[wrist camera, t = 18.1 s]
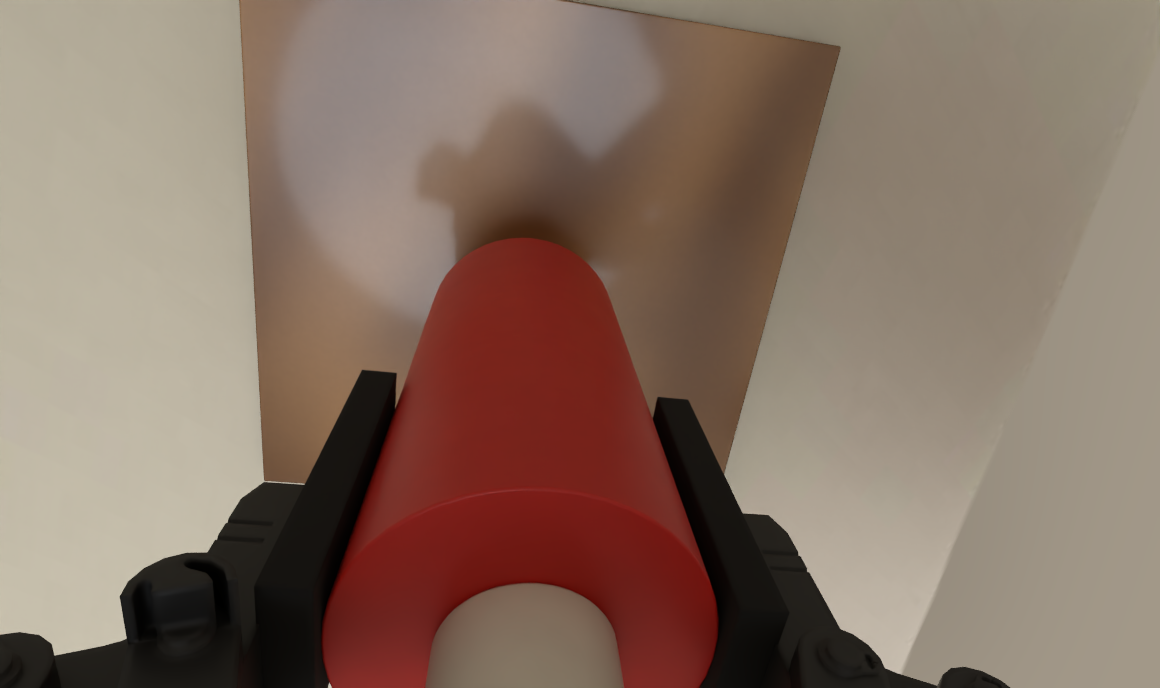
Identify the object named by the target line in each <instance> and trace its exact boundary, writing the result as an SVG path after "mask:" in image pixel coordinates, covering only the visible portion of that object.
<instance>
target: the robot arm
mask: <svg viewBox="0 0 1160 688" xmlns="http://www.w3.org/2000/svg"><path fill="white" fill-rule="evenodd" d="M396 379H397V373H393V372H382V371H371V370H362V371H361V373H360V375H359V377H358V379H357V381H356V383H355V385H354V387H353V389H352V391H351V393H350V395H349V397H348V399H347V401H346V403H345V405H344V407H343V409H342V411H341V413H340V415H339V417H338V419H337V421H336V423H335V425H334V427H333V429H332V431H331V433H330V435H329V437H328V439H327V441H326V443H325V445H324V447H323V449H322V451H321V453H320V455H319V457H318V459H317V461H316V463H315V465H314V467H313V469H312V471H311V473H310V475H309V477H308V479H307V481H306V483H305V485H297V484H282V483H268V482H264V483H262V484H261V485H259V486H258V487H257V488H255V489H254V490H253V491H251V492H250V493H248V494H247V495H246V496H244V497H243V498H242V499H241V500H240V501H239V503H238V505H237V506H236V508H235V509H234V511H233V513H232V514H231V516H230V517H229V519H228V523H226V524H225V525H224V527H223V529H222V530H221V532H220V533H219V535H218V539H217V540H215V541H214V543H213V545H212V546H211V548H210V549H209V551H208V553H184V554H180V555H176V556H172V557H168V558H164V559H162V560H160V561H158V562H156V563H154V564H152V565H150V566H148V567H146V568H144V569H143V570H142V571H140V572H139V573H138V574H137V575H136V576H134V577H133V578H132V579H131V580H130V581H128V583H127V585H126V587H125V588H124V590H123V592H122V594H121V595H120V600H121V606H122V612H123V618H124V624H125V630H126V636H127V639H125V640H123V641H120V642H116V643H113V644H109V645H105V646H101V647H96V648H91V649H86V650H81V651H76V652H71V653H66V654H61V655H56V656H54V653H53V648H52V644H51V643H49V642H48V641H47V640H45V639H44V638H42V637H41V636H40V635H34V634H28V633H21V632H18V633H11V634H3V635H0V688H328V685H329V680H328V676H327V673H326V670H325V666H324V663H323V657H322V646H321V633H322V620H323V616H324V613H325V609H326V605H327V601H328V598H329V596H330V593H331V590H332V587H333V584H334V581H335V579H336V576H337V573H338V570H339V567H340V564H341V561H342V559H343V556H344V553H345V550H346V547H347V544H348V542H349V539H350V536H351V533H352V530H353V527H354V525H355V522H356V519H357V516H358V513H359V510H360V508H361V505H362V502H363V499H364V496H365V493H366V491H367V488H368V485H369V482H370V479H371V476H372V474H373V471H374V468H375V465H376V462H377V459H378V457H379V454H380V451H381V448H382V445H383V442H384V439H385V437H386V434H387V431H388V428H389V425H390V422H391V420H392V417H393V414H394V411H395V404H396ZM653 422H654V425H655V427H656V430H657V433H658V436H659V439H660V441H661V444H662V447H663V450H664V453H665V456H666V458H667V461H668V464H669V467H670V470H671V472H672V475H673V478H674V481H675V484H676V487H677V489H678V492H679V495H680V498H681V501H682V503H683V506H684V509H685V512H686V515H687V518H688V520H689V523H690V526H691V529H692V532H693V535H694V537H695V540H696V543H697V546H698V549H699V551H700V554H701V557H702V560H703V563H704V566H705V568H706V571H707V574H708V577H709V580H710V583H711V586H712V589H713V592H714V595H715V598H716V603H717V611H718V618H719V621H718V639H717V644H716V648H715V653H714V657H713V660H712V663H711V665H710V668H709V670H708V673H707V675H706V677H705V679H704V681H703V682H702V684H701V686H700V687H699V688H1010V687H1008V686H1007V685H1006V684H1005V683H1003V682H1002V681H1001V680H999V679H997V678H995V677H992V676H991V675H988V674H987V673H985V672H983V671H979V670H975V669H971V668H967V667H959V668H951V669H950V670H948V671H947V672H946V673H945V674H943V676H942V678H941V680H940V682H939V684H938V686H936V685H933V684H929V683H926V682H923V681H920V680H917V679H913V678H910V677H907V676H904V675H901V674H897V673H895V672H892V671H890V670H887V669H885V668H884V666H883V664H882V661H881V659H880V658H879V657H878V655H877V654H876V653H875V652H874V651H873V650H872V649H871V648H870V647H869V645H867V644H866V643H864V642H863V641H862V640H860V639H859V638H857V637H856V636H854V635H853V634H851V633H848V632H846V631H843V630H841V629H840V628H839V626H838V624H837V622H836V620H835V619H834V617H833V615H832V613H831V611H830V609H829V608H828V606H827V604H826V602H825V600H824V598H823V597H822V595H821V593H820V591H819V589H818V588H817V586H816V584H815V582H814V580H813V578H812V577H811V575H810V573H809V572H807V568H806V566H805V564H804V562H803V560H802V558H801V557H800V556H798V551H797V549H796V548H795V546H794V544H793V542H792V540H791V538H790V537H789V535H788V533H787V532H786V531H785V530H784V529H783V528H782V527H781V526H779V525H778V524H777V523H776V522H775V521H774V520H773V519H772V518H771V517H770V516H769V515H757V514H743V513H742V511H741V509H740V507H739V505H738V503H737V501H736V499H735V497H734V495H733V493H732V490H731V488H730V486H729V484H728V482H727V480H726V478H725V476H724V474H723V471H722V469H721V467H720V465H719V463H718V461H717V459H716V457H715V455H714V453H713V450H712V448H711V446H710V444H709V442H708V440H707V438H706V436H705V434H704V432H703V429H702V427H701V425H700V423H699V421H698V419H697V417H696V415H695V413H694V410H693V408H692V406H691V404H690V402H689V400H688V399H677V398H666V397H657V401H656V406H655V410H654V415H653Z"/></svg>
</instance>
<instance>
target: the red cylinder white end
mask: <svg viewBox="0 0 1160 688" xmlns="http://www.w3.org/2000/svg"><path fill="white" fill-rule="evenodd" d="M718 621H719V618H718V611H717V603H716V598H715V595H714V592H713V589H712V586H711V583H710V580H709V577H708V574H707V571H706V568H705V566H704V563H703V560H702V557H701V554H700V551H699V549H698V546H697V543H696V540H695V537H694V535H693V532H692V529H691V526H690V523H689V520H688V518H687V515H686V512H685V509H684V506H683V503H682V501H681V498H680V495H679V492H678V489H677V487H676V484H675V481H674V478H673V475H672V472H671V470H670V467H669V464H668V461H667V458H666V456H665V453H664V450H663V447H662V444H661V441H660V439H659V436H658V433H657V430H656V427H655V425H654V422H653V419H652V416H651V413H650V410H649V408H648V405H647V402H646V399H645V396H644V394H643V391H642V388H641V385H640V382H639V379H638V377H637V374H636V371H635V368H634V365H633V363H632V360H631V357H630V354H629V351H628V348H627V346H626V343H625V340H624V337H623V334H622V332H621V329H620V326H619V323H618V320H617V317H616V315H615V312H614V309H613V306H612V303H611V301H610V298H609V295H608V292H607V290H606V288H605V286H604V284H603V282H602V281H601V279H600V278H599V276H598V275H597V273H596V272H595V271H594V270H593V269H592V268H591V267H590V265H589V264H588V263H586V262H585V261H584V260H583V259H582V258H581V257H579V256H578V255H576V254H575V253H573V252H572V251H570V250H568V249H566V248H564V247H562V246H560V245H558V244H555V243H552V242H548V241H545V240H539V239H534V238H510V239H504V240H499V241H495V242H492V243H489V244H486V245H484V246H482V247H480V248H478V249H476V250H474V251H472V252H471V253H469V254H468V255H466V256H465V257H463V258H462V259H461V260H460V261H459V262H458V263H456V264H455V265H454V266H453V267H452V269H451V270H450V271H449V272H448V273H447V275H446V276H445V278H444V279H443V281H442V282H441V284H440V286H439V288H438V290H437V293H436V295H435V298H434V300H433V303H432V306H431V309H430V312H429V315H428V317H427V320H426V323H425V326H424V329H423V332H422V335H421V337H420V340H419V343H418V346H417V349H416V352H415V354H414V357H413V360H412V363H411V366H410V369H409V371H408V374H407V377H406V380H405V383H404V386H403V388H402V391H401V394H400V397H399V400H398V403H397V405H396V408H395V411H394V414H393V417H392V420H391V422H390V425H389V428H388V431H387V434H386V437H385V439H384V442H383V445H382V448H381V451H380V454H379V457H378V459H377V462H376V465H375V468H374V471H373V474H372V476H371V479H370V482H369V485H368V488H367V491H366V493H365V496H364V499H363V502H362V505H361V508H360V510H359V513H358V516H357V519H356V522H355V525H354V527H353V530H352V533H351V536H350V539H349V542H348V544H347V547H346V550H345V553H344V556H343V559H342V561H341V564H340V567H339V570H338V573H337V576H336V579H335V581H334V584H333V587H332V590H331V593H330V596H329V598H328V601H327V605H326V609H325V613H324V616H323V620H322V633H321V646H322V657H323V663H324V666H325V670H326V673H327V676H328V680H329V682H330V684H331V686H332V688H699V687H700V686H701V684H702V682H703V681H704V679H705V677H706V675H707V673H708V670H709V668H710V665H711V663H712V660H713V657H714V653H715V648H716V644H717V639H718Z"/></svg>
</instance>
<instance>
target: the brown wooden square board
mask: <svg viewBox="0 0 1160 688" xmlns="http://www.w3.org/2000/svg"><path fill="white" fill-rule="evenodd" d="M239 4H240V23H241V42H242V62H243V81H244V100H245V120H246V139H247V159H248V178H249V197H250V217H251V236H252V255H253V275H254V294H255V314H256V333H257V352H258V372H259V391H260V410H261V430H262V449H263V469H264V480H265V481H276V482H291V483H306V481H307V479H308V477H309V475H310V473H311V471H312V469H313V467H314V465H315V463H316V461H317V459H318V457H319V455H320V453H321V451H322V449H323V447H324V445H325V443H326V441H327V439H328V437H329V435H330V433H331V431H332V429H333V427H334V425H335V423H336V421H337V419H338V417H339V415H340V413H341V411H342V409H343V407H344V405H345V403H346V401H347V399H348V397H349V395H350V393H351V391H352V389H353V387H354V385H355V383H356V381H357V379H358V377H359V375H360V373H361V371H362V370H371V371H382V372H393V373H397V379H396V404H395V408H396V405H397V403H398V400H399V397H400V394H401V391H402V388H403V386H404V383H405V380H406V377H407V374H408V371H409V369H410V366H411V363H412V360H413V357H414V354H415V352H416V349H417V346H418V343H419V340H420V337H421V335H422V332H423V329H424V326H425V323H426V320H427V317H428V315H429V312H430V309H431V306H432V303H433V300H434V298H435V295H436V293H437V290H438V288H439V286H440V284H441V282H442V281H443V279H444V278H445V276H446V275H447V273H448V272H449V271H450V270H451V269H452V267H453V266H454V265H455V264H456V263H458V262H459V261H460V260H461V259H462V258H463V257H465V256H466V255H468V254H469V253H471V252H472V251H474V250H476V249H478V248H480V247H482V246H484V245H486V244H489V243H492V242H495V241H499V240H504V239H510V238H534V239H539V240H545V241H548V242H552V243H555V244H558V245H560V246H562V247H564V248H566V249H568V250H570V251H572V252H573V253H575V254H576V255H578V256H579V257H581V258H582V259H583V260H584V261H585V262H586V263H588V264H589V265H590V267H591V268H592V269H593V270H594V271H595V272H596V273H597V275H598V276H599V278H600V279H601V281H602V282H603V284H604V286H605V288H606V290H607V292H608V295H609V298H610V301H611V303H612V306H613V309H614V312H615V315H616V317H617V320H618V323H619V326H620V329H621V332H622V334H623V337H624V340H625V343H626V346H627V348H628V351H629V354H630V357H631V360H632V363H633V365H634V368H635V371H636V374H637V377H638V379H639V382H640V385H641V388H642V391H643V394H644V396H645V399H646V402H647V405H648V408H649V410H650V413H651V416H652V419H653V415H654V410H655V406H656V401H657V397H666V398H677V399H688V400H689V402H690V404H691V406H692V408H693V410H694V413H695V415H696V417H697V419H698V421H699V423H700V425H701V427H702V429H703V432H704V434H705V436H706V438H707V440H708V442H709V444H710V446H711V448H712V450H713V453H714V455H715V457H716V459H717V461H718V463H719V465H720V467H721V469H722V471H723V474H724V472H725V468H726V464H727V461H728V457H729V453H730V450H731V446H732V442H733V439H734V435H735V431H736V428H737V424H738V420H739V417H740V413H741V410H742V406H743V402H744V399H745V395H746V391H747V388H748V384H749V380H750V377H751V373H752V369H753V366H754V362H755V358H756V355H757V351H758V347H759V344H760V340H761V337H762V333H763V329H764V326H765V322H766V318H767V315H768V311H769V307H770V304H771V300H772V296H773V293H774V289H775V285H776V282H777V278H778V274H779V271H780V267H781V264H782V260H783V256H784V253H785V249H786V245H787V242H788V238H789V234H790V231H791V227H792V223H793V220H794V216H795V212H796V209H797V205H798V201H799V198H800V194H801V190H802V187H803V183H804V180H805V176H806V172H807V169H808V165H809V161H810V158H811V154H812V150H813V147H814V143H815V139H816V136H817V132H818V128H819V125H820V121H821V117H822V114H823V110H824V107H825V103H826V99H827V96H828V92H829V88H830V85H831V81H832V77H833V74H834V70H835V66H836V63H837V59H838V55H839V52H840V47H839V46H834V45H828V44H822V43H816V42H810V41H804V40H798V39H792V38H786V37H780V36H774V35H768V34H763V33H757V32H751V31H745V30H739V29H733V28H727V27H721V26H715V25H709V24H703V23H697V22H692V21H686V20H680V19H674V18H668V17H662V16H656V15H650V14H644V13H638V12H632V11H626V10H621V9H615V8H609V7H603V6H597V5H591V4H585V3H579V2H573V1H567V0H239Z"/></svg>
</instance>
